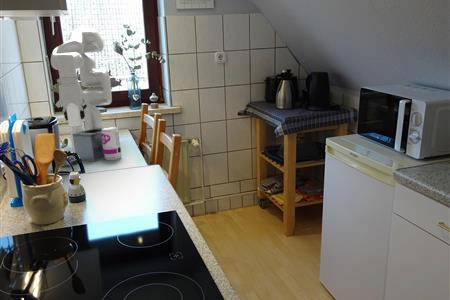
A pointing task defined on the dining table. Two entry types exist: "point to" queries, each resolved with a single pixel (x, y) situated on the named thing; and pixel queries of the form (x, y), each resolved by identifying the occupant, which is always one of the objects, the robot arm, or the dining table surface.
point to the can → (74, 115)
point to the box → (89, 144)
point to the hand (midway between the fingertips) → (75, 119)
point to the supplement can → (111, 143)
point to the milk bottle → (76, 130)
